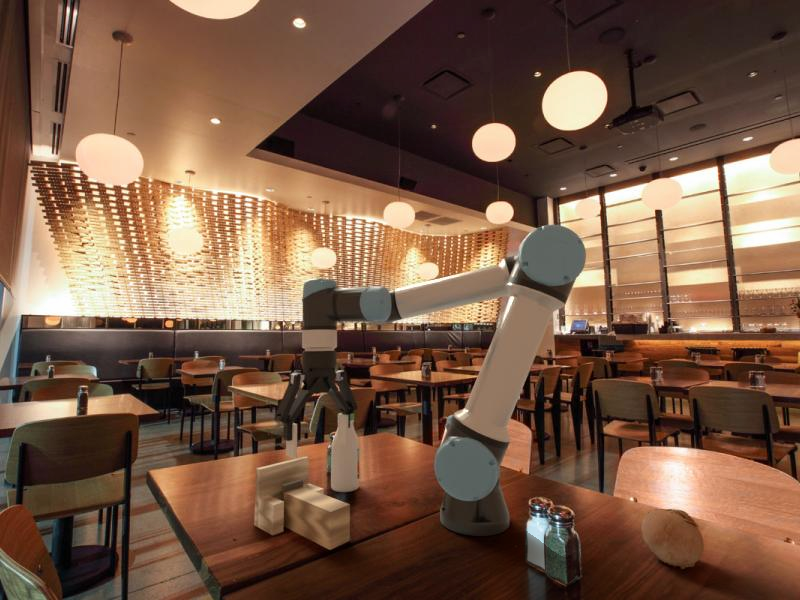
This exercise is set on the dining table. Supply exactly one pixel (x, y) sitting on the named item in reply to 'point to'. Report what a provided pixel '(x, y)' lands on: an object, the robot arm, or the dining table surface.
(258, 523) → the upright wooden board
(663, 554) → the beige rounded lump
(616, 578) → the dining table surface
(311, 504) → the rectangular wooden block
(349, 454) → the milk bottle
